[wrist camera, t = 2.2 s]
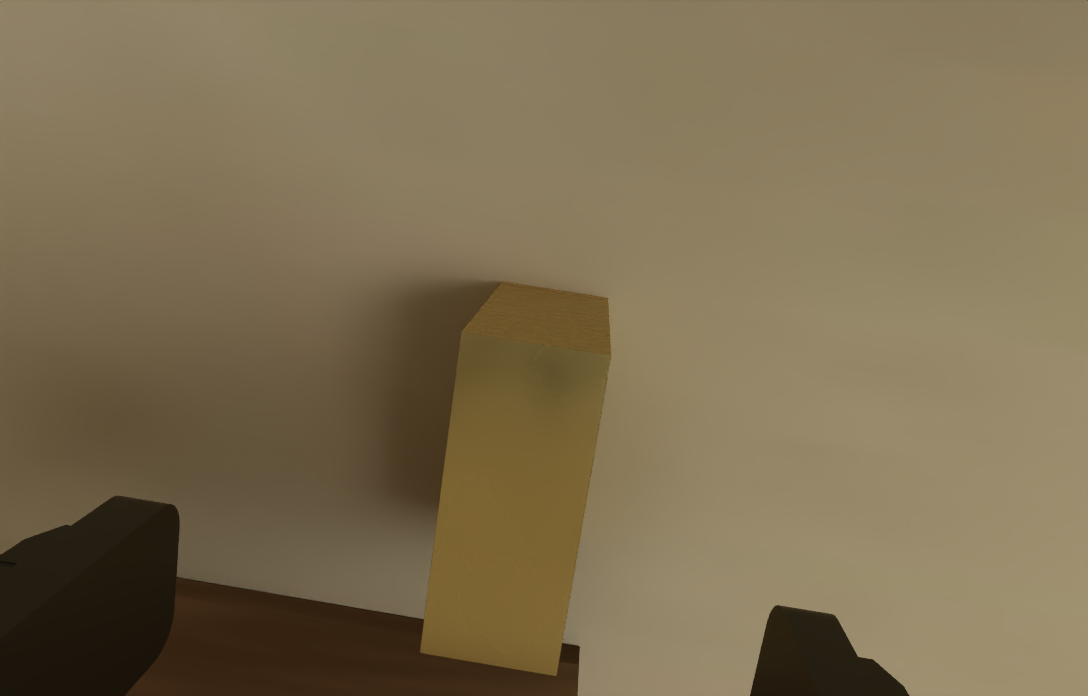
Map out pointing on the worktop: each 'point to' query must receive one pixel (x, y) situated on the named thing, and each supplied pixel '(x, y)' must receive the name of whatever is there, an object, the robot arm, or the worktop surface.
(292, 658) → the box
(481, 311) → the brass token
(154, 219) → the worktop surface
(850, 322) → the worktop surface
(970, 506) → the worktop surface
